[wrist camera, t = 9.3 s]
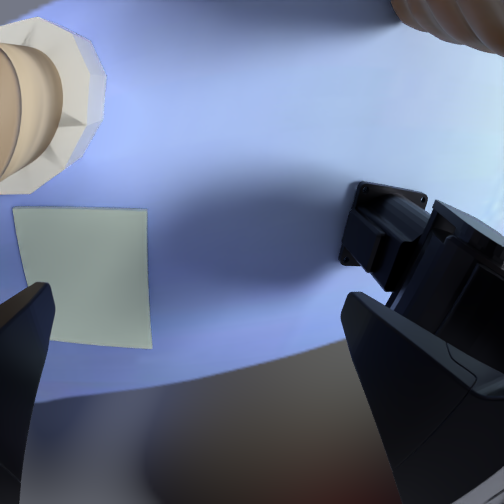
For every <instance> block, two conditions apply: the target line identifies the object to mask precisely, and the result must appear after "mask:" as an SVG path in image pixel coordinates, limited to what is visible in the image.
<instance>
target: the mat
mask: <svg viewBox="0 0 504 504" xmlns="http://www.w3.org/2000/svg"><path fill="white" fill-rule="evenodd" d="M12 209H13V216H14V222H15V229H16V234H17V240H18V245H19V250H20V255H21V260H22V264H23V268H24V273H25V277H26V281H27V285H28V287H29V286H30V285H32V284H33V283H35V282H48V283H49V284H50V286H51V290H52V294H53V298H54V302H55V307H56V311H55V317H54V321H53V326H52V331H51V335H50V340H54V341H62V342H70V343H80V344H89V345H100V346H112V347H126V348H142V349H152V335H151V322H150V306H149V286H148V254H147V209H136V208H104V207H51V206H15V207H14V208H12Z"/></svg>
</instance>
